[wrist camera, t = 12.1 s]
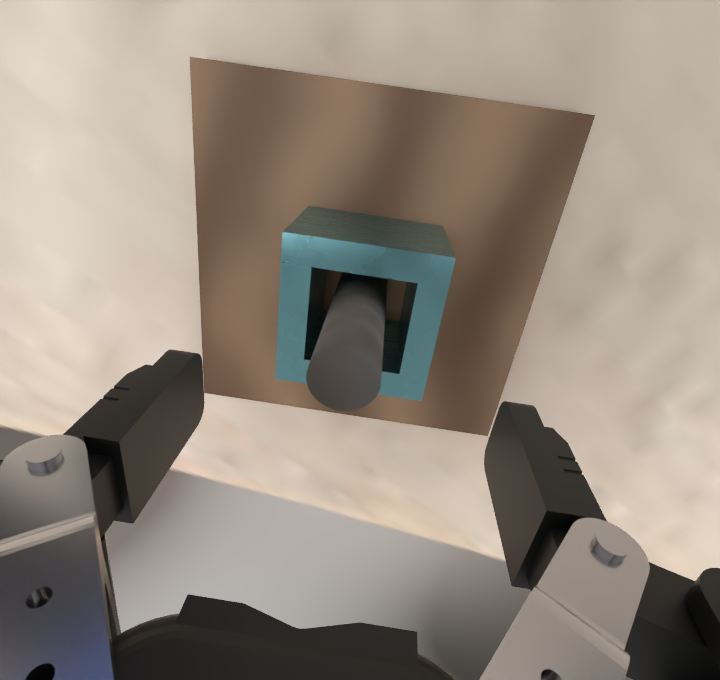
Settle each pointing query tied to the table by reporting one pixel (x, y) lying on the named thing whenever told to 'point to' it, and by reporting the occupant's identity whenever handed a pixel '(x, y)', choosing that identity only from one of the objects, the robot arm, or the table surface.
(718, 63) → the table surface
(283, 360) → the collar
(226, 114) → the post stand
